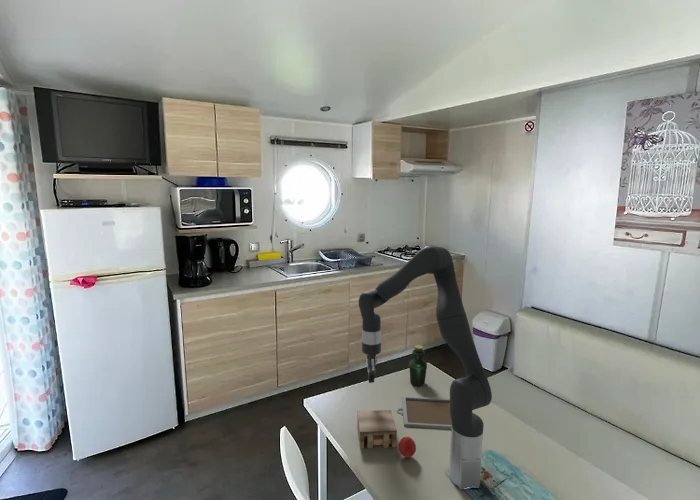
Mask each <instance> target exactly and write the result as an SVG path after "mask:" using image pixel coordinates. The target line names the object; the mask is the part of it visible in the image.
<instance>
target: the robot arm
mask: <svg viewBox="0 0 700 500" xmlns="http://www.w3.org/2000/svg"><path fill="white" fill-rule="evenodd" d="M427 274H430V275H433V277H434V280H435V283H436V287H437V301H436V307H435V317H436V321H437V325H438V329H439V332H440V336H441V337H442V340H444V342H445V343H446V344H447V346H449V347H450V348H451V350H452V351H453V352H454V353H455V354H456V355H457V357H458V358H459V360H460V362H461V363H462V365H463V368H464V373H465V374H466V376H464V377H460V378H457V379H454V380H452V381H451V384H450V386H449V399H450V416H451V420H452V428H451V429H450V430H451V431H450V432H451V433H450V446H449V447H450V449H449V450H450V451H449V465H448V466H449V469H448V476H449V480H450V481H451V482H452V483H453V484H454V485H455V486H456V487H458V489H459V490H465V489H464V488H467V487H472V486H480V487H481V473H482V453H483V440H484V427H485V425H484V421H483V419H482V418H481V417H480V416H479V415H477V414H476V413H473V411H474V410H477V409H480V408H483V407H487V406H489V405H490V404H491V402H492V398H493V395H492V394H493V393H492V388H491V384H490V382H489V380H488V377H487V374H486V372H485V370H484V369H485V368H484V366H483V365H482V361H481V359H480V356H479V354H478V351H477V347H476V345H475V341H474V339H473V338H474V337H473V335H472V331H471V327H470V323H469V319H468V317H467V313H466V310H465V307H464V303H463V300H462V296H461V293H460V290H459V286H458V282H457V277H456V271H455V265H454V261H453V257H452V254H451V252H450V251H449V250H448V249H447V248H445V247H442V246H441V247H440V246H435V245H427V246H424V247H422V248H421V249H419V251H417V253H415V254H414V255H413V256H412V258H410V259H409V260H408V261H407V262H406V263H405V264H404V265H403V266H401V268H399V269H398V270H397V271H396V272H395V273H393V274H391V275H390V276H388V277H387V278H385V279H384V280H382V281H380V283H378V284H377V287H375V288H373V289H370V290H367V291H364V292H363V293H361V294H360V296H359V298H358V307H359V312H360V315H361V318H362V331H361V353H363V354H364V355H365V359H366V368H367V373H368V376H367V377H368V378H367V379H368V383H369V384H371V383H372V384H373V383H375V375H376V373H377V368H378V367H377V363H378V358H377V355H380V353H381V352H382V332H381V324H382V323H381V322H382V321H381V316H380V314H378V313H376V312H375V309H376V308H379V307H381V306H382V305H385V304H386V303H387V302H388V301H389V300H390V299H392V298H394V297H396V296H398V295H399V294H401V293H402V292H403V291H405V289H407V287H408V286H409V285H410V284H411V283H412V281H414V280H416V279H417V278H419V277H421V276H424V275H427Z"/></svg>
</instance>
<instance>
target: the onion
mask: <svg viewBox="0 0 700 500" xmlns="http://www.w3.org/2000/svg"><path fill="white" fill-rule="evenodd" d="M397 446H398V451H399V453H400V455H402V457H404V458H405V459H408V458H411V457H413V456H414V455H415V453H416V451H417V446H416V442H415V440H414V439H413V438H412V437H410V435H406V436H404V437H402V438H401V439H400V440H399V442H398V445H397Z"/></svg>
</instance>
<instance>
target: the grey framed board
mask: <svg viewBox="0 0 700 500" xmlns="http://www.w3.org/2000/svg"><path fill="white" fill-rule="evenodd" d="M401 403H402V404H401V407H398V408H397V409H396V410H395V411H396V413H397V414H399V415H401V416H403V426H404V427H410V428H411V427H413V428H427V429H443V430H451V428H452V420H451V416H450V398H442V397H426V396H424V397H423V396H422V397H421V396H405V395H404V396H401Z"/></svg>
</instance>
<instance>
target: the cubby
mask: <svg viewBox="0 0 700 500" xmlns="http://www.w3.org/2000/svg"><path fill="white" fill-rule="evenodd" d="M356 413H357V416H356V417H357V419H356V422H357V423H356V424H357V425H356V427H357V434H358V437H357V438H358V444H359V449H365V436H367V439H366V446H367V449H374V445H373V435H383V444H382V446H383V448H389V447H390V444H389V434H390V436H391V439H392V440H391V447H392V448H397V446H398V445H397V442H398V441H397V439H398V437H397V436H398V429H397V427H396V426H397V425H396V422H395V418H394V415H393V412H392V410H391V409H385V410H384V409H383V410H379V409H377V410H357V412H356Z"/></svg>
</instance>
